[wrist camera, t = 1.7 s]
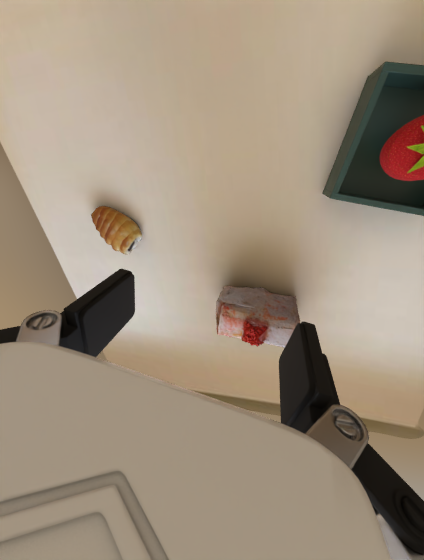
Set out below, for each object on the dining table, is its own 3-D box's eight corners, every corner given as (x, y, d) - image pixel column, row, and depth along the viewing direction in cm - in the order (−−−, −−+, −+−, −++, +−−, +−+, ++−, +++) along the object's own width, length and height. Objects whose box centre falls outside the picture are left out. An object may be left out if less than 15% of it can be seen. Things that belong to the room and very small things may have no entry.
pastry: (93, 223, 42) (78, 228, 38) (105, 194, 38) (90, 197, 35) (132, 254, 43) (121, 262, 40) (148, 230, 40) (137, 236, 36)
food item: (222, 312, 45) (210, 347, 36) (223, 278, 41) (211, 308, 32) (290, 322, 42) (295, 363, 33) (299, 287, 38) (307, 323, 30)
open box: (367, 76, 24) (385, 61, 20) (499, 91, 22) (545, 77, 19) (322, 193, 30) (329, 198, 27) (422, 211, 29) (444, 219, 25)
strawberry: (431, 170, 26) (508, 175, 18) (360, 182, 28) (397, 192, 20) (445, 111, 24) (544, 83, 15) (365, 129, 26) (411, 114, 17)
